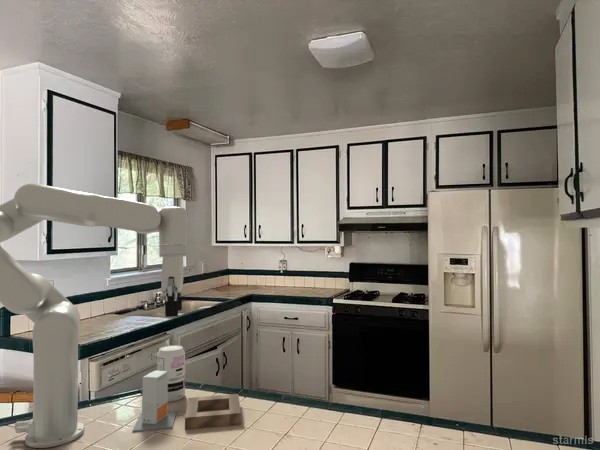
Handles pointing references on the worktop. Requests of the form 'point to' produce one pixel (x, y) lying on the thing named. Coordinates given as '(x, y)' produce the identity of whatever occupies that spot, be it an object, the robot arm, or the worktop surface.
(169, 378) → the supplement can
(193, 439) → the worktop surface
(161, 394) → the skincare box
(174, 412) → the rubber mat
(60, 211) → the robot arm
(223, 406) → the holder block
